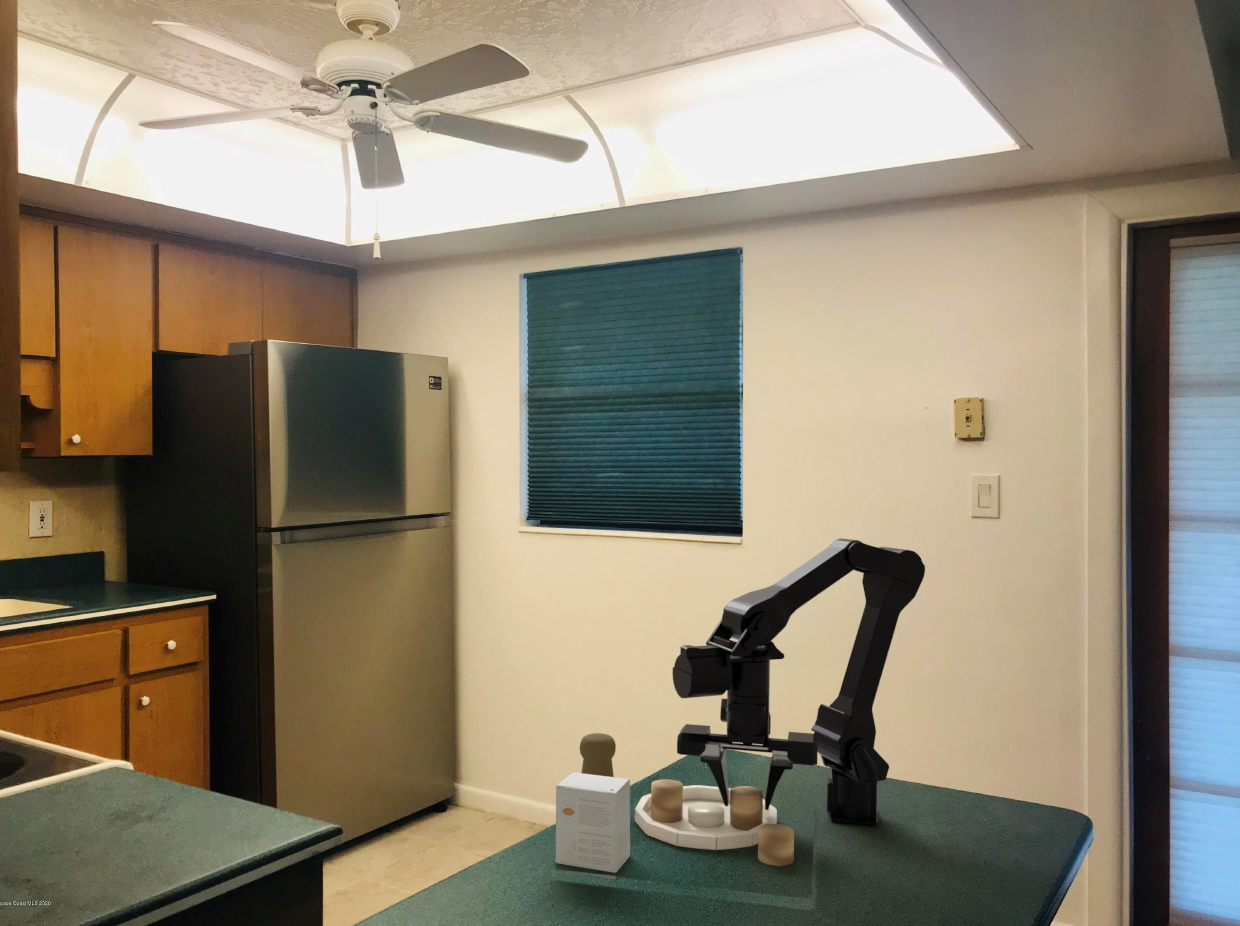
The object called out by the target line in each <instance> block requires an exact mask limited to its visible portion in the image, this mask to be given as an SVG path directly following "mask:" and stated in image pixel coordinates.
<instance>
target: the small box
mask: <svg viewBox="0 0 1240 926" xmlns="http://www.w3.org/2000/svg"><path fill="white" fill-rule="evenodd" d="M630 856H631V780H630V779H629V778H623V777H615V776H614V777H608V776H599V775H591V774H582V773H581V772H572V773H569V775H567V777H565V778H564V779H563V780H562V781H561V782H559V783H558V784H556V786H555V863H556V864H560V865H565V866H571V867H580V868H584V869H590V870H597V871H603V872H609V873H618V871H619V870H620V869H621V868H622V867H623V866H624V864H625V863H626V862H627V860H628V859H629V858H630ZM555 871H557V872H565V873H569V874H576V875H583V876H588V877H589V876H590V877H595V878H599V879H600V878H601V879H608V880H614V881H615V880H617V878H618V877H619V876H617V875H610V874H600V873H591V872H584V871H583V872H582V871H575V870H567V869H566V870H565V869H557V868H556V869H555Z"/></svg>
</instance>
